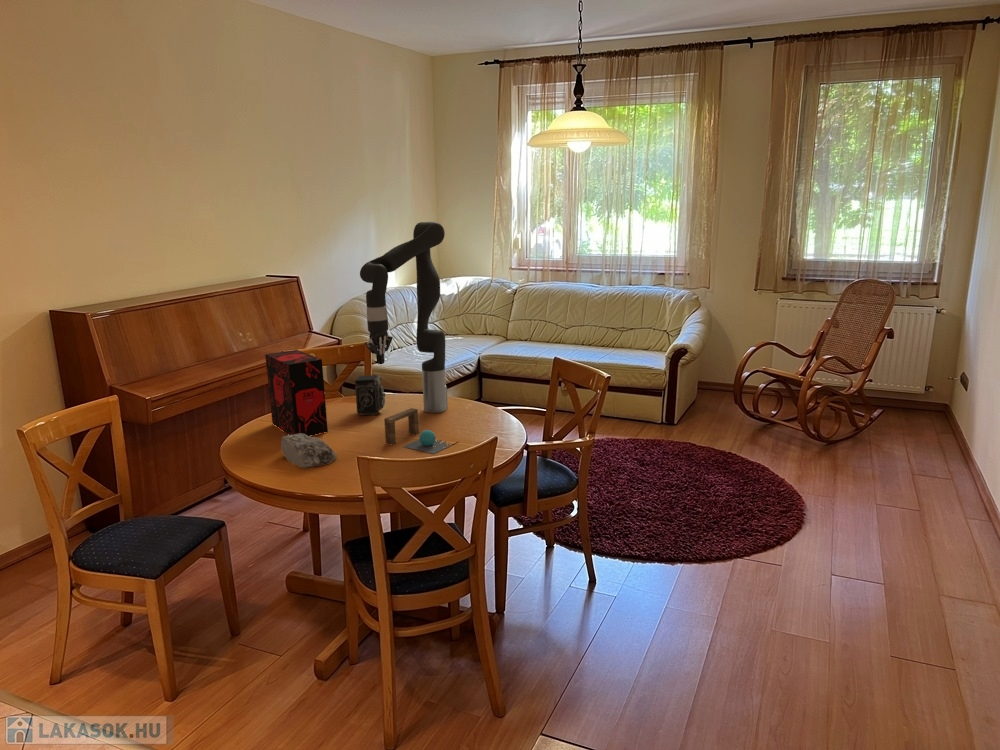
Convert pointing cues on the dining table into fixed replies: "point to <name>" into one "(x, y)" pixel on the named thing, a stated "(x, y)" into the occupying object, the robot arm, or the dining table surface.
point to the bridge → (390, 421)
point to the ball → (427, 438)
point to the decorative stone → (306, 450)
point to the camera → (369, 395)
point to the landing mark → (429, 449)
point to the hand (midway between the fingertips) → (380, 363)
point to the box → (297, 392)
